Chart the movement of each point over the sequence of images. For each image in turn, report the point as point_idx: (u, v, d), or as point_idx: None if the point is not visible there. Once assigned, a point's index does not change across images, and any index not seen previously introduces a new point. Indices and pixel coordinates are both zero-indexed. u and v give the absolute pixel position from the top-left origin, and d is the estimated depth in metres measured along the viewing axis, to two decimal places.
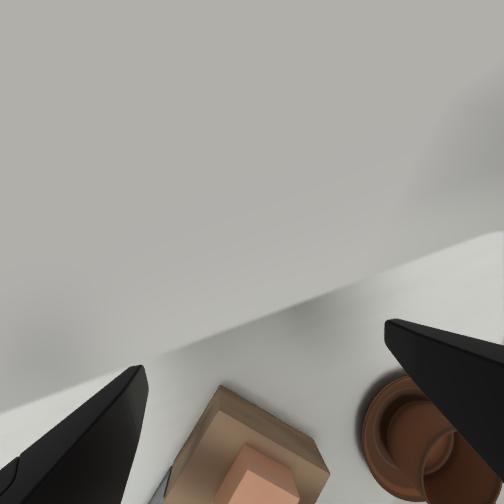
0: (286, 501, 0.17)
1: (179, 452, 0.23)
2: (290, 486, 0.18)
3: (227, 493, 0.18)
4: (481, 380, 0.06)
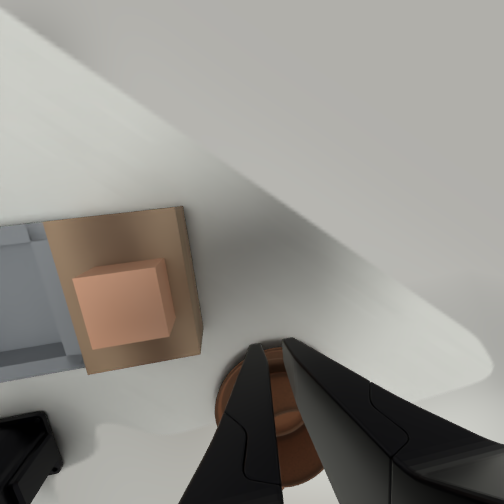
0: (156, 326, 0.15)
1: None
2: (169, 322, 0.16)
3: (113, 269, 0.14)
4: (328, 414, 0.06)
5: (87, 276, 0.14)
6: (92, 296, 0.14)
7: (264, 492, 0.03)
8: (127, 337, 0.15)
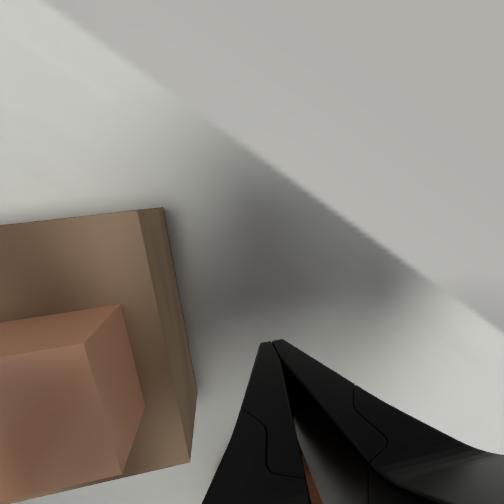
0: (94, 457, 0.07)
1: None
2: (126, 437, 0.08)
3: (0, 343, 0.07)
4: (312, 417, 0.06)
5: None
6: None
7: (289, 485, 0.03)
8: (32, 483, 0.07)
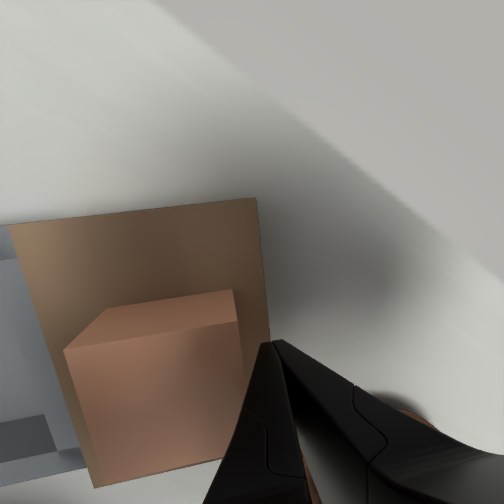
0: (232, 432, 0.07)
1: None
2: None
3: (147, 322, 0.07)
4: (312, 418, 0.06)
5: (96, 343, 0.06)
6: (106, 383, 0.07)
7: (290, 485, 0.03)
8: (175, 456, 0.07)
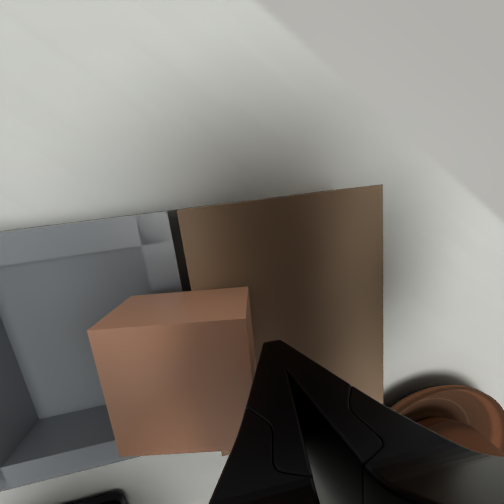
0: (237, 428, 0.08)
1: None
2: None
3: (162, 312, 0.08)
4: (308, 418, 0.06)
5: (115, 327, 0.07)
6: (123, 365, 0.07)
7: (296, 484, 0.03)
8: (182, 442, 0.08)
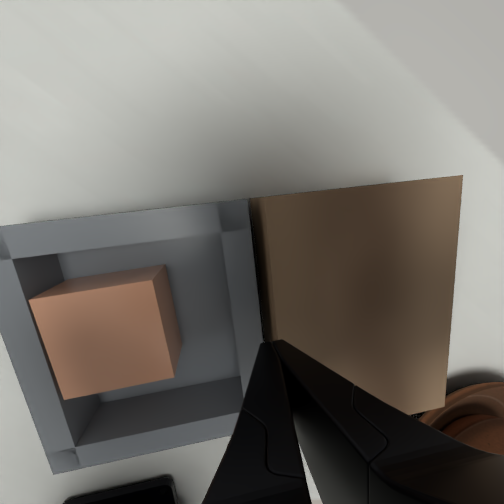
0: None
1: None
2: None
3: (119, 275, 0.11)
4: (312, 418, 0.06)
5: (149, 267, 0.12)
6: None
7: (289, 486, 0.03)
8: None
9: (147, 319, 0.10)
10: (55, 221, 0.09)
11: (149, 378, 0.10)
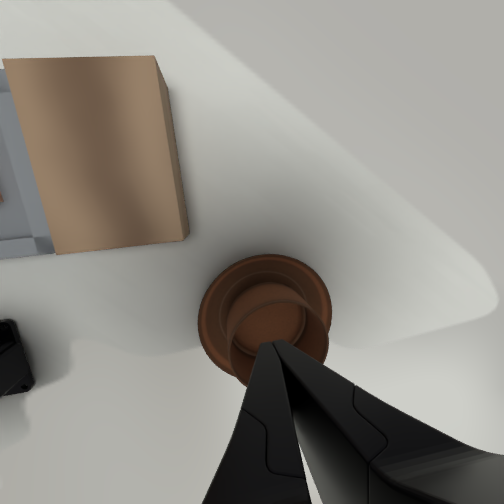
0: None
1: None
2: None
3: None
4: (312, 418, 0.06)
5: None
6: None
7: (289, 485, 0.03)
8: None
9: None
10: None
11: None
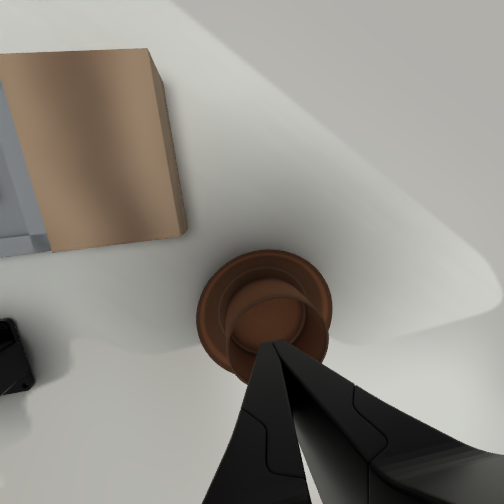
0: None
1: None
2: None
3: None
4: (312, 418, 0.06)
5: None
6: None
7: (289, 486, 0.03)
8: None
9: None
10: None
11: None
